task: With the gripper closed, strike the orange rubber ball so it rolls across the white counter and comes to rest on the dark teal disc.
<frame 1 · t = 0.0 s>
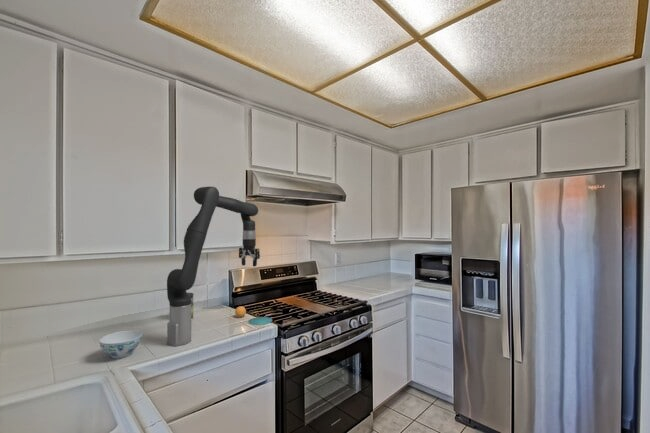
hand: (249, 265, 183), 29 cm above the countertop, tool pointing down, fingers open, 8 cm apart
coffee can: (183, 319, 176), on the countertop
ball: (240, 311, 180), on the countertop
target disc: (260, 320, 173), on the countertop
chinaware: (121, 355, 129), on the countertop
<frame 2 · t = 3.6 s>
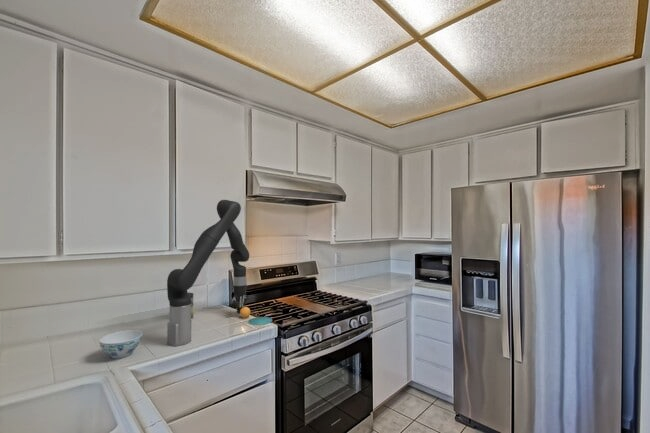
hand: (239, 313, 181), 2 cm above the countertop, tool pointing down, fingers closed
ball: (245, 312, 179), on the countertop, touching gripper
everything else where it was.
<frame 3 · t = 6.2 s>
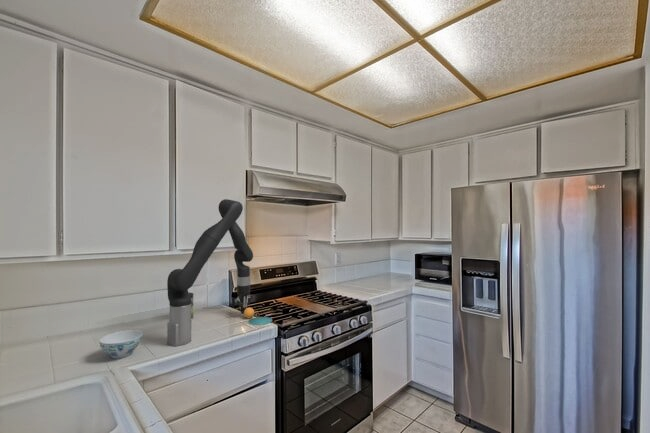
hand: (243, 313, 180), 2 cm above the countertop, tool pointing down, fingers closed
ball: (248, 312, 178), on the countertop, touching gripper
everything else where it was.
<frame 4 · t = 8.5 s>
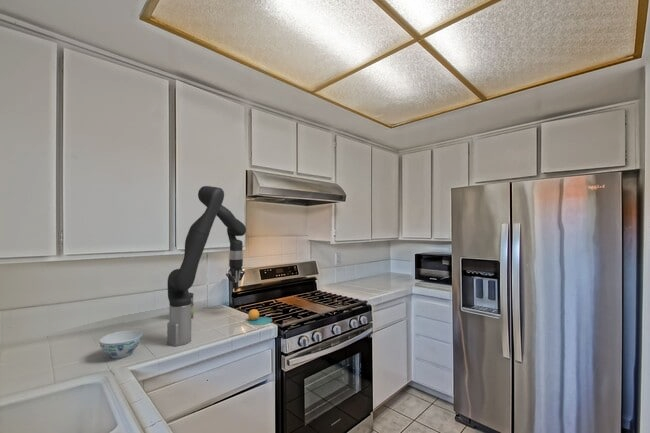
hand: (235, 288, 179), 17 cm above the countertop, tool pointing down, fingers closed
ball: (253, 314, 174), on the countertop
everything else where it was.
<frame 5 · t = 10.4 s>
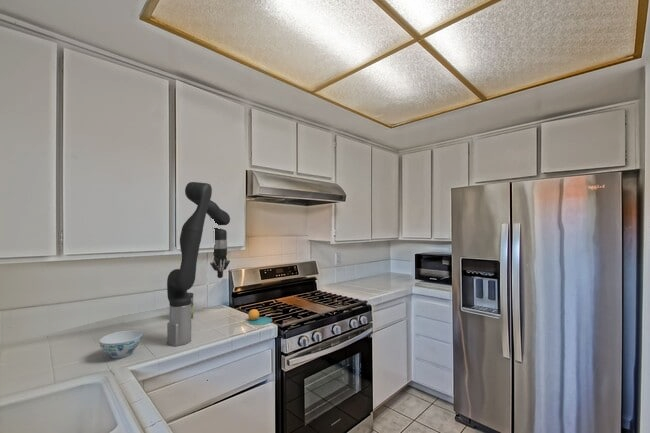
hand: (220, 277, 179), 23 cm above the countertop, tool pointing down, fingers closed
nothing on the countertop moved.
at the end: ball 4.2 cm from the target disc (horizontally); ball at rest at the end (0.0 cm/s); ball moved 10.9 cm from its start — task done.
